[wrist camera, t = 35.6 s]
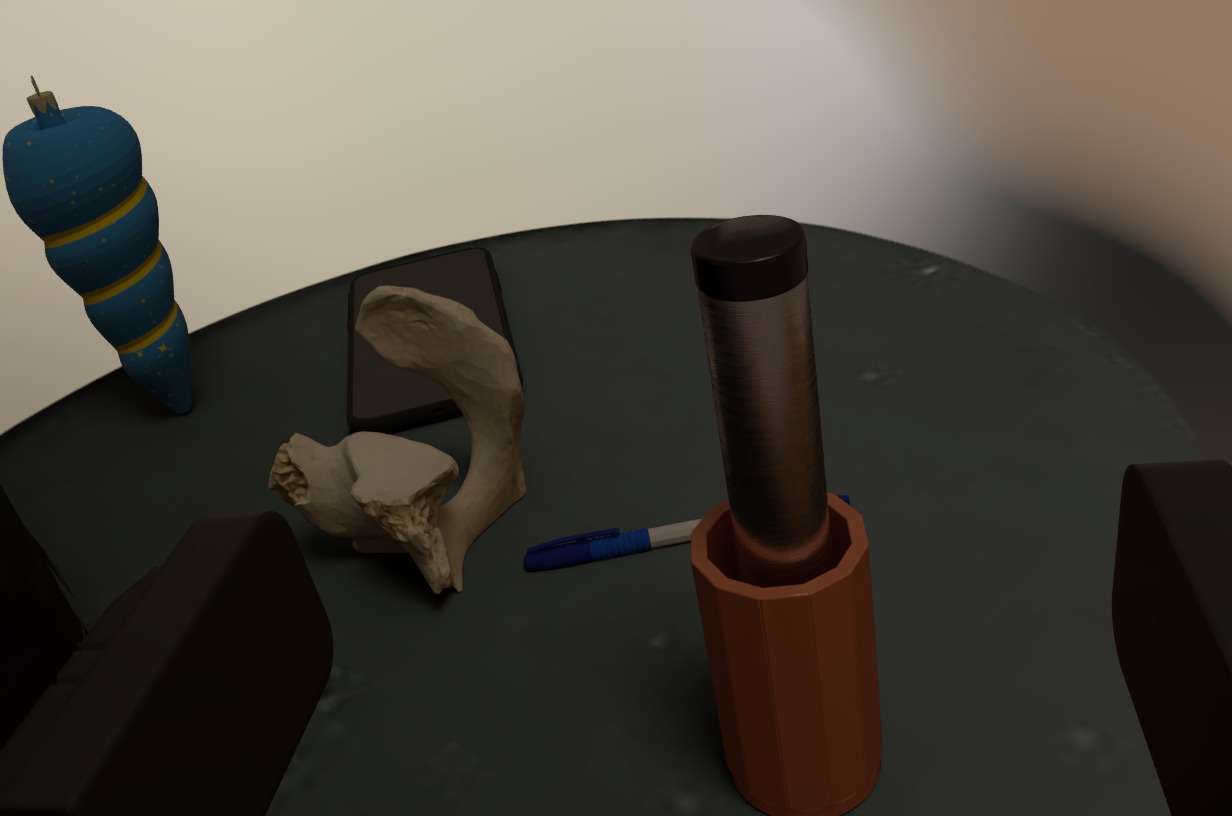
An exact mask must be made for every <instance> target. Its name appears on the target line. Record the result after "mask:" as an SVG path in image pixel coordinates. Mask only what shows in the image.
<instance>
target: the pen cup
mask: <svg viewBox="0 0 1232 816" xmlns="http://www.w3.org/2000/svg"><path fill="white" fill-rule="evenodd" d="M827 499H828V510H829V521H830V533H831V544H832V555H833V567H834V569H832V570H830V571H828V572H826V573H824V574H822V575H820V576H818V577H816V578H814V579H812V580H810V581H808V582H806V583H804V584H798V585H788V586H778V587H768V588H761V587H758V586H754V585H751V584H747V583H743V582H741V579H740V573H739V566H738V559H737V552H736V546H735V539H734V532H733V525H732V518H731V512H730V505H729V499H727V500H725V501H723V502H721V503H719V504H717V505H714V506H713V507H712V508H711V509H710V510H709V511H708V513H707V514H706V515H705V516H704V517H703V519H702V520H701V521H700V522H699V524H698V525H697V526H696V527H695V528H694V530H693V531H692V533H691V564H692V569H693V575H694V581H695V586H696V592H697V598H698V603H699V609H700V615H701V620H702V626H703V632H704V637H705V643H706V649H707V654H708V660H709V666H710V671H711V677H712V683H713V688H714V694H715V700H716V705H717V711H718V717H719V722H720V728H721V734H722V739H723V745H724V751H725V756H726V762H727V766H728V768H729V770H730V774H731V777H732V780H733V782H734V784H735V786H736V788H737V789H738V791H739V792H740V793H741V795H742V796H743V797H744V798H745V799H746V800H747V801H748V802H749V803H751V804H752V805H753V806H754V807H756V808H757V809H759V810H760V811H762V812H764V813H766V814H768V815H770V816H840V815H842V814H844V813H846V812H848V811H850V810H852V809H853V808H855V807H856V806H857V805H859V804H860V803H861V802H862V801H863V800H864V799H865V798H866V797H867V796H868V795H869V793H870V792H871V791H872V789H873V788H874V786H875V784H876V782H877V780H878V777H879V774H880V769H881V757H882V753H883V752H882V737H881V721H880V706H879V691H878V675H877V660H876V645H875V629H874V614H873V599H872V583H871V568H870V553H869V542H868V538H867V533H866V529H865V525H864V521H863V517H862V515H861V514H860V513H859V512H858V511H856V510H855V509H854V508H852V507H851V506H850V505H848V504H847V503H846V502H844V501H843V500H842V499H840V498H839V497H838V496H836V495H835V494H833V493H830V492H827Z"/></svg>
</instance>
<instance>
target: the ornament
mask: <svg viewBox="0 0 1232 816" xmlns="http://www.w3.org/2000/svg"><path fill="white" fill-rule="evenodd" d="M31 79H32V81H31V82H32V84H33V86H34V88H35V91H36V92H37V94H34V95H32V96H29V97H28V98H27V101H28V103H29V105H30V108H31V110H32V112H33V113H34V114H35V117H34V118H32V119H29V120H27V121H25V122H23V123H21V124H19V125H17V126H16V127H14V128H13V129H11V130H10V131H9V132H8V134H7V135H6V137H5V140H4V144H3V171H4V177H5V182H6V188H7V191H8V195H9V198H10V201H11V203H12V205H13V207H14V209H15V210H16V212H17V214H18V215H19V217H20V218H21V219H22V220H23V222H24V223H25V224H26V225H27V226H28V227H29V228H30V229H31V230H32V231H33V232H35V234H36V235H38V236H39V237H40V238H41V239H42V240H43V241H44V244H45V253H46V257H47V261H48V262H49V264H50V266H51V268H52V269H53V270H54V272H55V273H56V274H57V275H58V276H59V277H60V278H61V279H62V280H63V281H64V282H65V283H67V285H69V286H70V287H71V288H72V289H73V290H74V291H76V292H77V293H78V294H79V295H80V296H81V297H82V298H83V301H84V306H85V311H86V313H87V316H88V317H89V319H90V321H91V323H92V324H93V325H94V327H95V328H96V329H97V330H98V331H99V332H100V334H101V335H102V336H103V337H104V338H105V339H106V340H107V341H108V342H109V343H110V344H111V345H112V346H113V347H114V348H115V349H116V350H117V352H118V355H119V358H120V361H121V364H122V366H123V368H124V370H125V371H126V373H127V374H128V375H129V376H130V377H131V378H132V379H133V380H135V381H136V382H137V383H138V384H140V385H141V386H142V387H144V388H145V389H146V390H148V391H149V392H150V393H152V394H153V395H154V396H156V397H157V398H159V399H160V400H161V401H162V402H164V403H165V404H166V405H167V406H169V407H170V408H171V409H172V410H173V411H174V412H175V413H178V414H184V413H186V412H188V411H189V410H190V408H191V406H192V392H191V372H190V351H189V337H188V329H187V324H186V321H185V318H184V315H183V313H182V311H181V309H180V307H179V305H178V304H177V303H176V301H175V300H174V285H173V273H172V268H171V263H170V260H169V257H168V254H167V252H166V250H165V248H164V247H163V245H162V244H161V242H160V241H159V240H158V237H159V216H158V206H157V200H156V197H155V194H154V192H153V190H152V188H151V187H150V185H149V184H148V182H147V181H146V180H145V178H143V176H142V155H141V147H140V143H139V139H138V137H137V134H136V132H135V131H134V129H133V128H132V126H131V125H130V124H129V122H128V121H126V120H125V119H124V118H123V117H122V116H120V115H118V114H117V113H115V112H113V111H111V110H108V109H105V108H102V107H95V106H82V107H75V108H68V109H63V110H59V108H58V104H57V102H56V100H55V97H54V95H53V93H52V92H50V91H46V92H42V93H40V92H39V89H38V87H37V85H36V82H35V80H34V78H33V76H31Z"/></svg>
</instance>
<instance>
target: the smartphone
mask: <svg viewBox="0 0 1232 816" xmlns="http://www.w3.org/2000/svg"><path fill="white" fill-rule="evenodd" d="M379 286H396V287H407V288H415V289H417V290H420V291H422V292H425V293H428V294H431V295H435V296H439V297H443V298H447V299H450V300H453V301H455V302H458V303H460V304H462V305H464V306H465V307H467V308H469V309H471V310H472V311H473V312H474V314H475V315H476V317H477V318H478V320H479V321H481V322H482V323H483V324H485V325H486V326H487V327H489V328H490V329H492V330H493V331H494V332H496V333H497V334H499V335H500V336H502V337H503V338H504V339H506V340H507V341H508V343H509V345H510V347H511V349H512V351H513V354H514V356H515V358H516V365H517V371H518V376H519V380H520V383H521V387H522V386H523V378H522V374H521V370H520V366H519V362H518V358H517V354H516V351H515V347H514V343H513V339H512V335H511V331H510V327H509V323H508V319H507V315H506V311H505V307H504V303H503V299H502V295H501V293H502V291H501V286H500V282H499V278H498V275H497V272H496V271H495V268H494V264H493V260H492V256H491V254H490V252H489V251H488V250H487V249H485V248H468V249H463V250H459V251H455V252H450V253H446V254H442V255H438V256H433V257H429V258H425V259H421V260H416V261H412V262H408V263H404V264H399V265H395V266H391V267H387V268H382V269H378V270H374V271H370V272H367V273H364V274H362V275H360V276H358V277H356V278H355V279H353V281H352V282H351V285H350V294H348V300H349V303H348V330H349V345H348V391H347V421H348V424H349V426H350V428H351V429H352V430H353V431H354V432H356V433H357V432H363V431H365V432H377V433H381V432H385V431H389V430H393V429H397V428H401V427H405V426H410V425H414V424H418V423H422V422H426V421H430V420H434V419H438V418H442V417H446V416H450V415H454V414H458V413H462V412H461V410H460V409H459V407H458V406H457V404H456V403H455V402H454V400H453V399H452V398H451V397H450V395H449V394H448V393H447V392H446V391H445V390H444V389H443V388H442V387H441V386H440V385H439V384H437V383H436V382H434V381H433V380H431V379H429V378H428V377H426V376H424V375H422V374H420V373H415V372H411V371H408V370H405V369H402V368H398V367H395V366H392V365H389V364H388V363H386V362H385V361H383V360H382V359H381V358H379V357H378V356H377V355H376V354H375V353H374V351H373V350H372V349H371V348H370V347H369V346H368V344H367V342H366V341H365V340H364V339H363V338H362V336H361V335H360V334H359V333H358V332H357V331H356V330H355V326H356V322H357V318H358V315H359V312H360V308H361V303H362V302H363V300H364V299H365V298H366V296H367V295H368V294H369V293H370V292H372V291H373V290H374V289H376V288H377V287H379Z"/></svg>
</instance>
